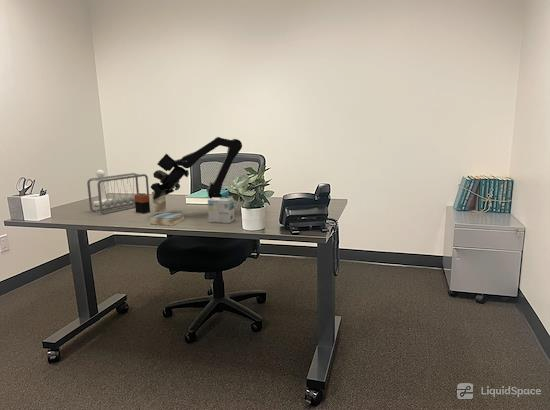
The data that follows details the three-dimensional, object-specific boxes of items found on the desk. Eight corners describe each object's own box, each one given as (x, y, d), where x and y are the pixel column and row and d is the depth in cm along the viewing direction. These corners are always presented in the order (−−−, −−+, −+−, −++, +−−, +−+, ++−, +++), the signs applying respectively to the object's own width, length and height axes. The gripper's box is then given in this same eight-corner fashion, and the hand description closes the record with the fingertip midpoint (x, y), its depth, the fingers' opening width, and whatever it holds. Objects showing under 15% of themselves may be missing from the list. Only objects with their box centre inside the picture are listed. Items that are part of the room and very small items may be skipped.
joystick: (110, 202, 240) (106, 168, 236) (117, 203, 236) (114, 169, 232) (92, 205, 231) (88, 170, 227) (99, 207, 227) (96, 171, 223)
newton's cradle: (138, 203, 237) (136, 172, 234) (150, 204, 231) (147, 173, 228) (90, 212, 213) (86, 179, 210) (101, 215, 207) (97, 180, 204)
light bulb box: (234, 219, 194) (234, 197, 192) (230, 223, 187) (229, 200, 185) (213, 218, 196) (212, 196, 194) (208, 222, 190) (207, 199, 188)
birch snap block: (166, 210, 208) (164, 190, 206) (161, 212, 203) (159, 192, 201) (158, 209, 209) (156, 190, 207) (153, 211, 205) (151, 192, 203)
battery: (143, 213, 209) (141, 194, 207) (135, 212, 213) (133, 193, 211) (150, 212, 213) (149, 193, 211) (142, 210, 217) (140, 192, 214)
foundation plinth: (183, 220, 195) (183, 213, 194) (171, 225, 184) (171, 218, 184) (163, 218, 198) (163, 212, 197) (150, 224, 187) (149, 217, 187)
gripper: (173, 162, 209) (155, 183, 214) (152, 167, 192) (134, 189, 197) (188, 178, 208) (170, 199, 214) (168, 184, 191) (149, 206, 196)
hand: (156, 198), depth 205 cm, fingers closed on birch snap block, 5 cm apart
